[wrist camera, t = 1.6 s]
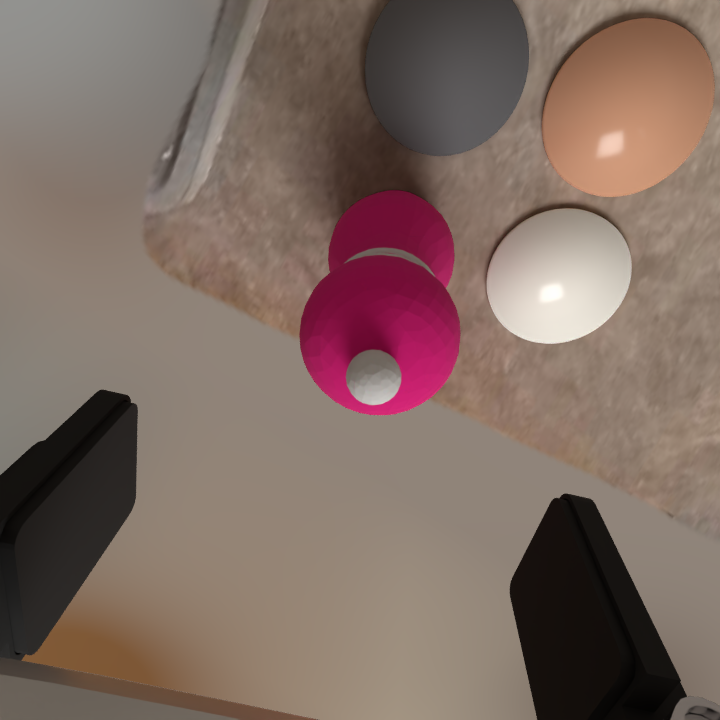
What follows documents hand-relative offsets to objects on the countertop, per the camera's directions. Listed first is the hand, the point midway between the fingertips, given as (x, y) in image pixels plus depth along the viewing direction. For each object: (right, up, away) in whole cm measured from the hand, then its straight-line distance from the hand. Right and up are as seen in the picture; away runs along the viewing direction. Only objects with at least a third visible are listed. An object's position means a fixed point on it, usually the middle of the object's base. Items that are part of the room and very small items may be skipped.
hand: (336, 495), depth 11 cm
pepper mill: (+3, +11, +22) cm, 25 cm away
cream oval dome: (+13, +9, +22) cm, 28 cm away
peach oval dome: (+16, +17, +18) cm, 29 cm away
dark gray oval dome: (+5, +20, +18) cm, 27 cm away
